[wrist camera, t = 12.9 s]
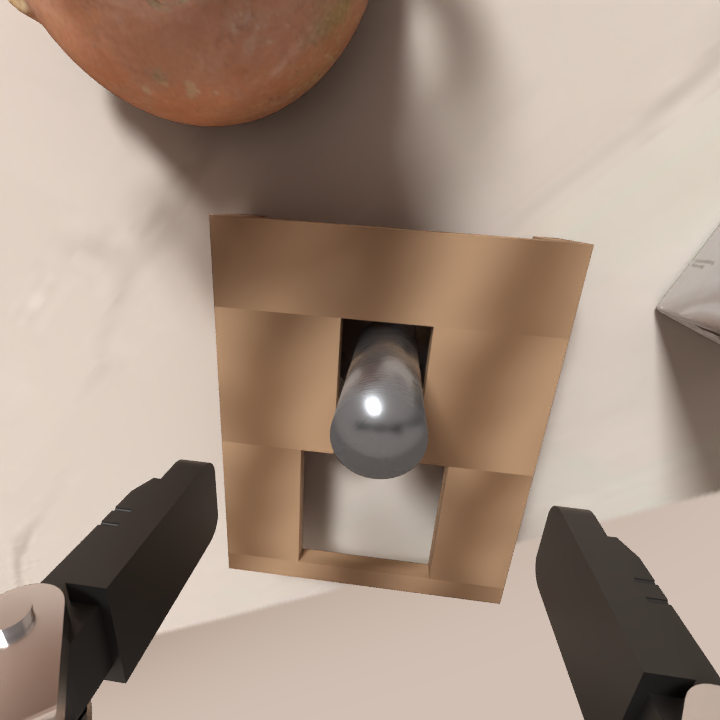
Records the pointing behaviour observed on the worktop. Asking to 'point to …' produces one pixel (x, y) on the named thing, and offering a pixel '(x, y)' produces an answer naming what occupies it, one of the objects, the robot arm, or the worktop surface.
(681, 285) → the coffee box
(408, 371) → the peg
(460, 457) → the keyhole plate
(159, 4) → the ceramic jug
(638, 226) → the worktop surface
